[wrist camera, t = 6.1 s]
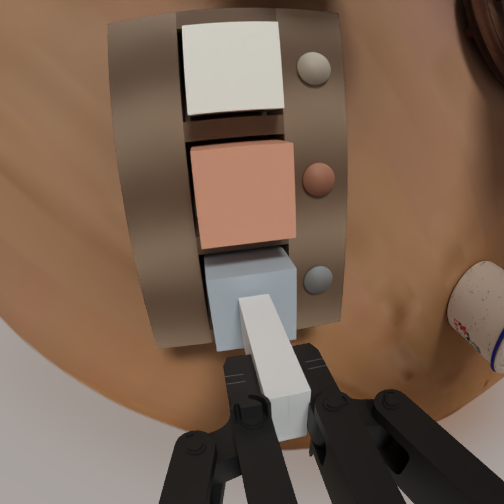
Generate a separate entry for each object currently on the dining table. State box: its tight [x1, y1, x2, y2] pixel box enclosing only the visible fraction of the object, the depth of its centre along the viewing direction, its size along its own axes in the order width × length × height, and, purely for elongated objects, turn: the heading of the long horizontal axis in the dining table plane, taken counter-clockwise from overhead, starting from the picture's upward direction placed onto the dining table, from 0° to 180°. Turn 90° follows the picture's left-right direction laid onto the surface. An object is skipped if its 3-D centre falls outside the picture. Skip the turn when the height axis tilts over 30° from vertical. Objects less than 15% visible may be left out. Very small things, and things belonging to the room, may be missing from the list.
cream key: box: [182, 21, 284, 118], centre depth 15 cm, size 4×4×5 cm
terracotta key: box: [190, 138, 296, 249], centre depth 16 cm, size 4×4×5 cm
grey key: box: [204, 245, 297, 352], centre depth 19 cm, size 4×4×5 cm
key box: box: [108, 8, 347, 349], centre depth 18 cm, size 19×12×5 cm, turn 4°
